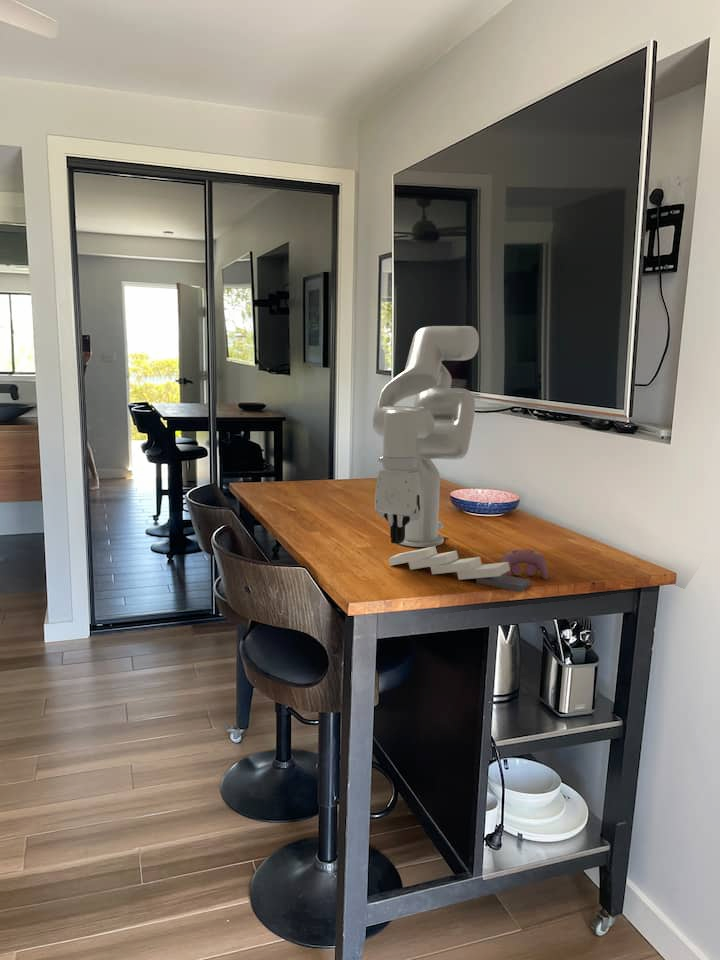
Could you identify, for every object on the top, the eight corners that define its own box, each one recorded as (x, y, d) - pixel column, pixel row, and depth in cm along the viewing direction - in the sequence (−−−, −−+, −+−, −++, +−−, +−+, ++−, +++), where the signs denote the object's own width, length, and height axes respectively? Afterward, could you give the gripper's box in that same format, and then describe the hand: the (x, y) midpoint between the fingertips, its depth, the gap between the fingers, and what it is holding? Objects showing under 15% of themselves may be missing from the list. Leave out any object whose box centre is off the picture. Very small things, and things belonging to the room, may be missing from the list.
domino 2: (408, 562, 162) (446, 555, 156) (419, 557, 166) (456, 550, 161) (410, 569, 162) (448, 563, 156) (421, 564, 166) (458, 558, 160)
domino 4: (456, 571, 155) (496, 567, 149) (468, 566, 159) (508, 561, 152) (458, 579, 155) (498, 576, 149) (470, 573, 159) (510, 570, 152)
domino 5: (476, 577, 153) (521, 585, 148) (485, 571, 157) (529, 579, 152) (476, 585, 154) (520, 594, 148) (485, 579, 158) (529, 588, 152)
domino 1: (388, 558, 165) (424, 550, 159) (399, 553, 169) (435, 546, 163) (390, 565, 165) (426, 558, 159) (401, 561, 169) (437, 553, 163)
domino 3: (430, 566, 159) (468, 562, 153) (442, 561, 163) (480, 556, 156) (432, 574, 159) (470, 570, 153) (444, 569, 163) (482, 564, 156)
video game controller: (544, 582, 160) (541, 551, 162) (550, 579, 156) (547, 547, 158) (500, 582, 159) (498, 551, 161) (505, 579, 155) (503, 547, 157)
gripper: (362, 462, 164) (361, 540, 167) (420, 469, 156) (418, 551, 159) (380, 459, 170) (378, 534, 173) (436, 465, 162) (433, 544, 165)
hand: (397, 542), depth 166 cm, fingers closed
